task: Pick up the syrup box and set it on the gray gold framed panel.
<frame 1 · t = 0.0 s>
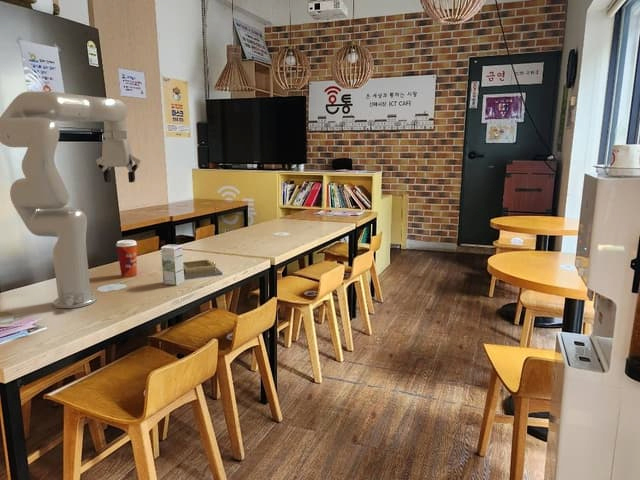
hand: (119, 182, 175), 37 cm above the table, tool pointing down, fingers open, 9 cm apart
syrup box: (174, 283, 172), on the table
gray gold framed panel: (197, 270, 190), on the table
paper cup: (129, 275, 183), on the table
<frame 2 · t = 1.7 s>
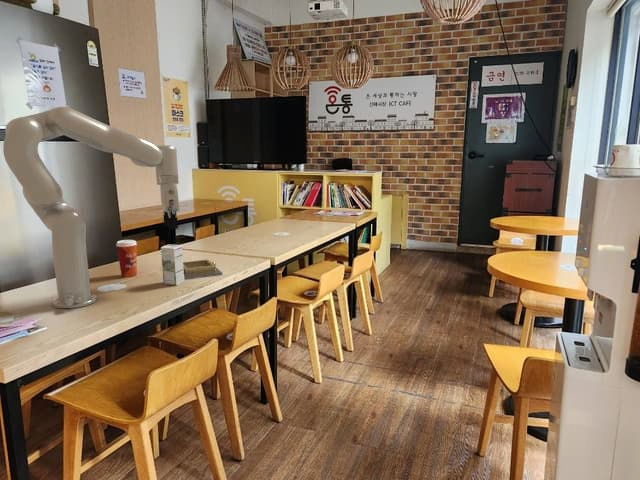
hand: (170, 226, 168), 22 cm above the table, tool pointing down, fingers open, 9 cm apart
nothing on the table moved.
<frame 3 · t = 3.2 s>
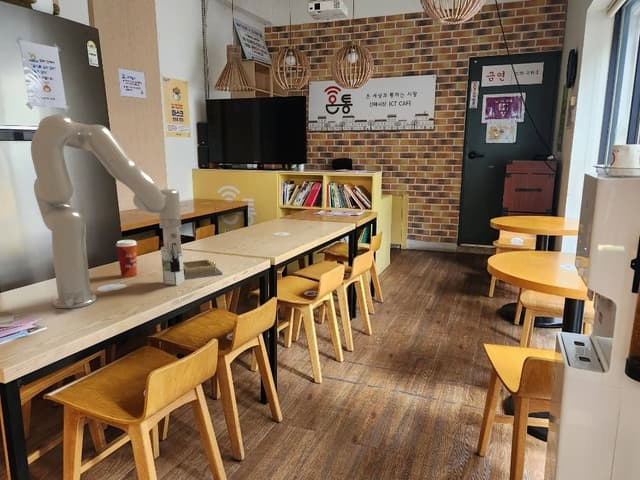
hand: (173, 268, 171), 6 cm above the table, tool pointing down, fingers closed on syrup box, 8 cm apart
syrup box: (174, 283, 172), on the table, touching gripper
everything else where it was.
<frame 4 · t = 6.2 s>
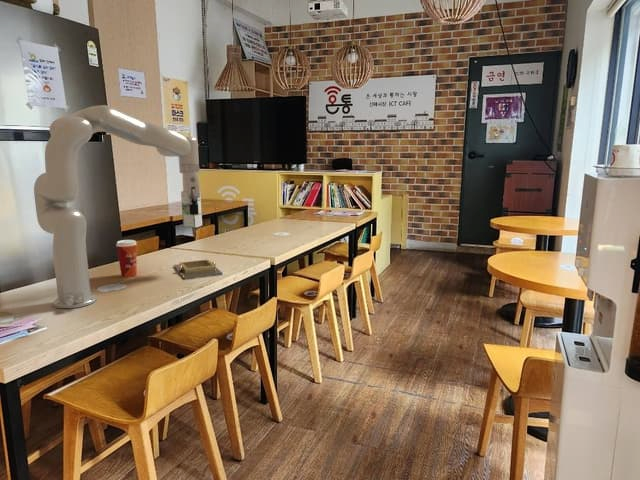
hand: (192, 212, 183), 25 cm above the table, tool pointing down, fingers closed on syrup box, 8 cm apart
syrup box: (192, 227, 184), point 19 cm above the table, touching gripper
everything else where it was.
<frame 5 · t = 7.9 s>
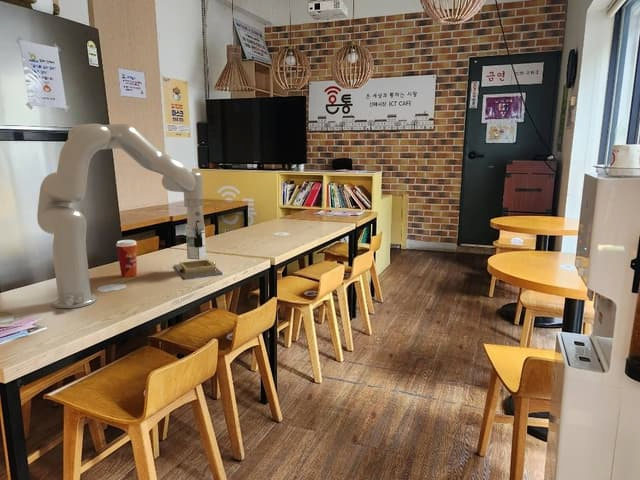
hand: (196, 244, 188), 11 cm above the table, tool pointing down, fingers closed on syrup box, 8 cm apart
syrup box: (196, 258, 189), point 5 cm above the table, touching gripper
everything else where it was.
when the fingers open (8 cm above the table, at t = 9.2 s): syrup box drops 1 cm, resting on gray gold framed panel.
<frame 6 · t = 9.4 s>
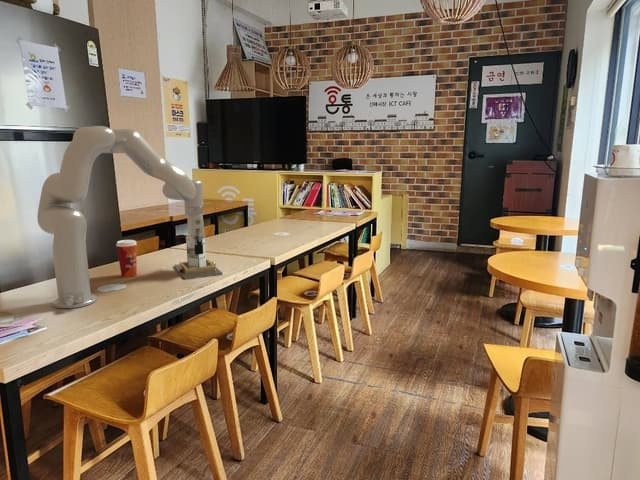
hand: (196, 251, 188), 8 cm above the table, tool pointing down, fingers open, 9 cm apart
syrup box: (197, 269, 189), point 1 cm above the table, touching gray gold framed panel
everything else where it was.
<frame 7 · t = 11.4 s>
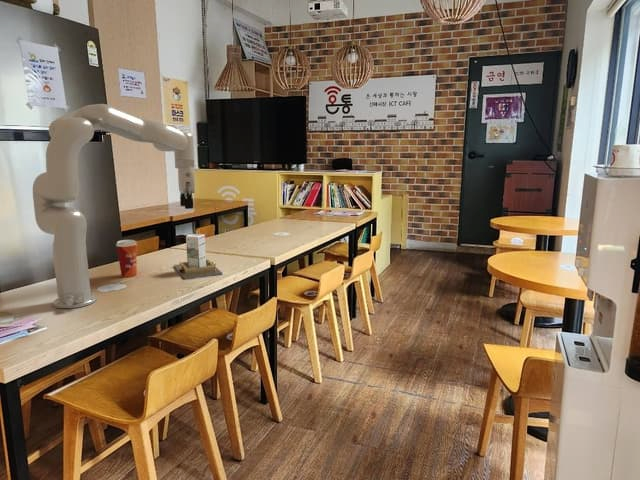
hand: (186, 207, 185), 27 cm above the table, tool pointing down, fingers open, 9 cm apart
nothing on the table moved.
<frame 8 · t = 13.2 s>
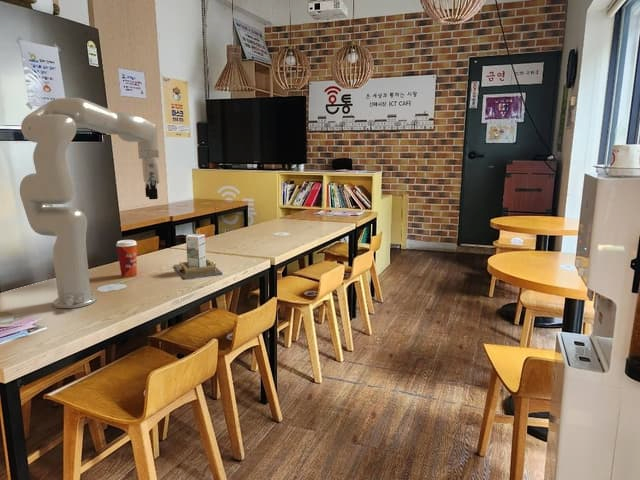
hand: (151, 198, 184), 30 cm above the table, tool pointing down, fingers open, 9 cm apart
nothing on the table moved.
at the end: syrup box inside the target area on the gray gold framed panel (0.4 cm from its centre), point 0.6 cm above the gray gold framed panel's base; syrup box tilted 0°; the gripper is holding nothing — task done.
